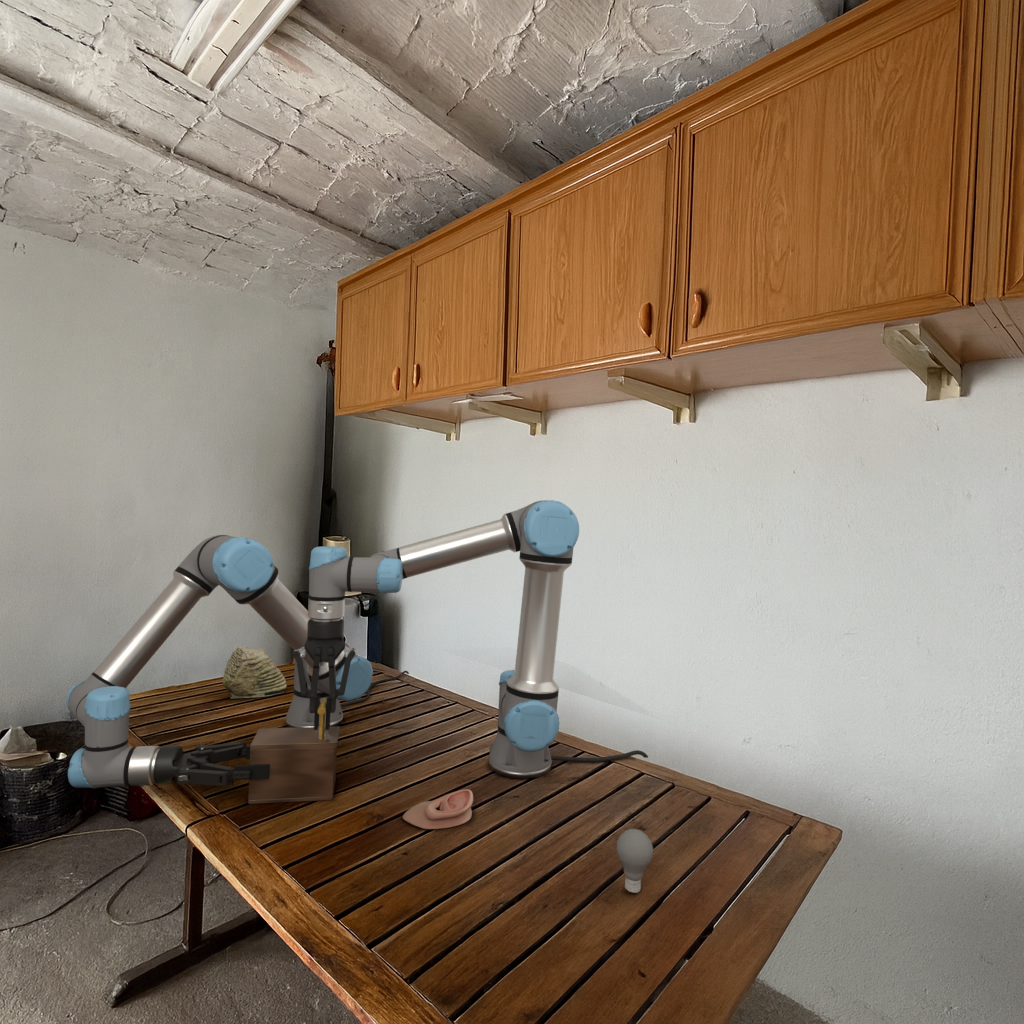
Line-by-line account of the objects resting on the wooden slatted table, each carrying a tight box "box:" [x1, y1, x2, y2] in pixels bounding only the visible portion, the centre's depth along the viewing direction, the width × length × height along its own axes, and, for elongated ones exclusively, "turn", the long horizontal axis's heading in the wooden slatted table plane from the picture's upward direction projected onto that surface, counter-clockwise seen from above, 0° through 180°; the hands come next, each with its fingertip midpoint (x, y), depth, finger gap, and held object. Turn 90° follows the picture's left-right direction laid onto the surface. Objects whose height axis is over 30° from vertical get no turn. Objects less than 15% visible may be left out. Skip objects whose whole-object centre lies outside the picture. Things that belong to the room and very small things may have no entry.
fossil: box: [222, 646, 288, 699], centre depth 198 cm, size 9×18×15 cm, turn 132°
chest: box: [247, 746, 338, 805], centre depth 135 cm, size 17×9×11 cm, turn 102°
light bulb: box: [615, 828, 654, 894], centre depth 106 cm, size 6×6×10 cm
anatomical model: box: [402, 788, 474, 830], centre depth 128 cm, size 13×4×12 cm
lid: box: [249, 698, 341, 750], centre depth 135 cm, size 17×9×8 cm, turn 102°
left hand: (273, 761), depth 135 cm, fingers closed on chest, 9 cm apart
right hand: (322, 727), depth 136 cm, fingers closed on lid, 2 cm apart
